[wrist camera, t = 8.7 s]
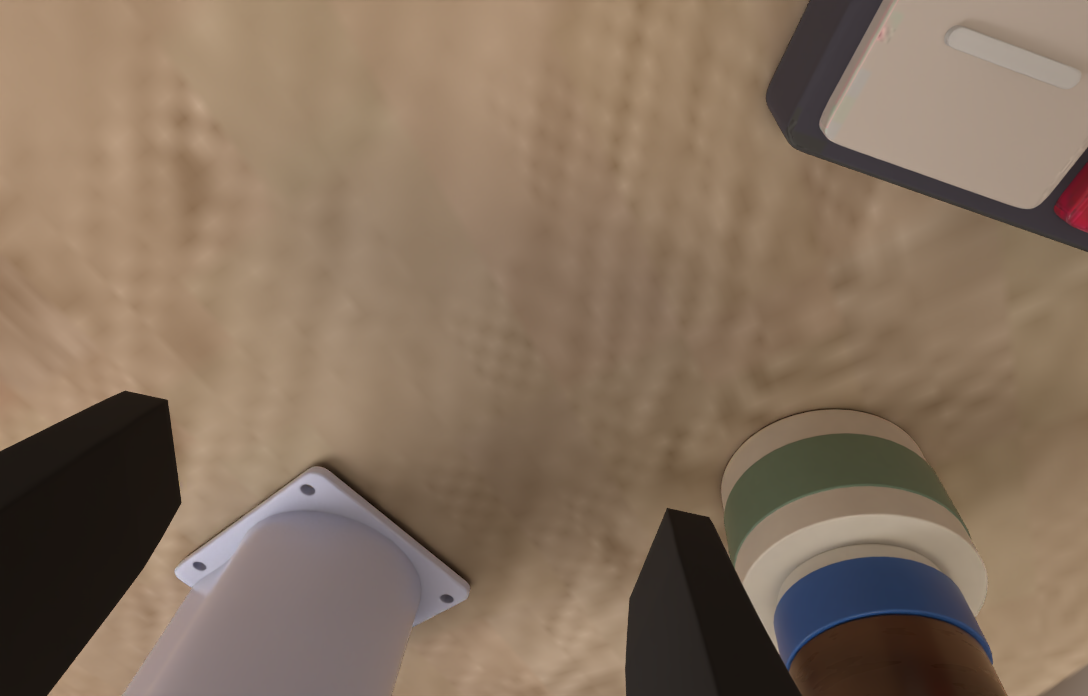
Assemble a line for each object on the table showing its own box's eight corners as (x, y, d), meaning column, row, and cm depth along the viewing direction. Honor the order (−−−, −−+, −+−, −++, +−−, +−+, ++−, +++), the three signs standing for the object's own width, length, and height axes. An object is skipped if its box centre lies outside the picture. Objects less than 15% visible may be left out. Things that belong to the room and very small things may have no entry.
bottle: (784, 579, 25) (830, 768, 19) (680, 469, 23) (699, 648, 17) (963, 503, 22) (1077, 699, 17) (865, 371, 20) (960, 545, 14)
